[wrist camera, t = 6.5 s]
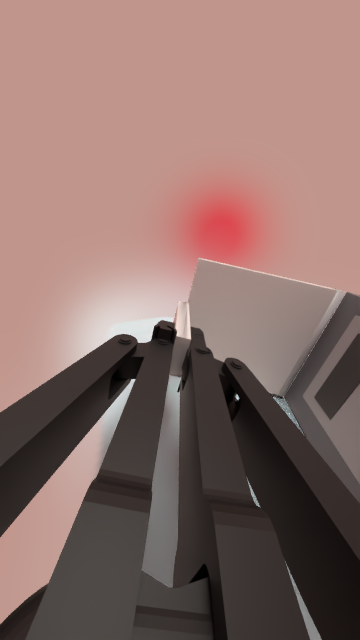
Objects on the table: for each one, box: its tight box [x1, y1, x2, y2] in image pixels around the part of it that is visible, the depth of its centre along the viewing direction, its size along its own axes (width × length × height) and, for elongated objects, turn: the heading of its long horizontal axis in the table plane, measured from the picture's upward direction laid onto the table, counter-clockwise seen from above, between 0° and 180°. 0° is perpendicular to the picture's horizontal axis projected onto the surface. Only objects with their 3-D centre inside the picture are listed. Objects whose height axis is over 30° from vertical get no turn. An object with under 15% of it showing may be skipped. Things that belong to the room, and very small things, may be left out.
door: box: [181, 258, 346, 396], centre depth 18 cm, size 2×13×12 cm, turn 86°
